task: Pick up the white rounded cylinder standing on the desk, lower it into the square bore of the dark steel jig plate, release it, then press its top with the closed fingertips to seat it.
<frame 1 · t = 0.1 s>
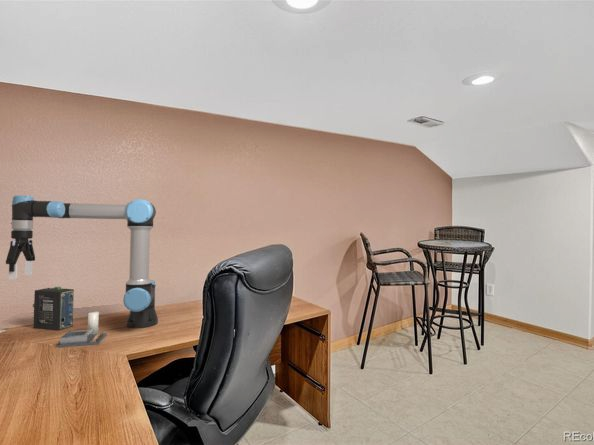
hand: (20, 277, 152), 28 cm above the table, fingers open, 13 cm apart
white rounded cylinder: (92, 333, 161), on the table
jig: (82, 341, 150), on the table
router: (53, 327, 170), on the table
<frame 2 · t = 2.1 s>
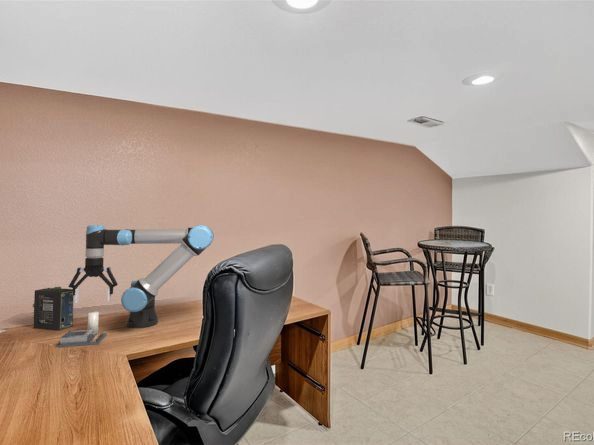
hand: (93, 301, 161), 15 cm above the table, fingers open, 13 cm apart
nothing on the table moved.
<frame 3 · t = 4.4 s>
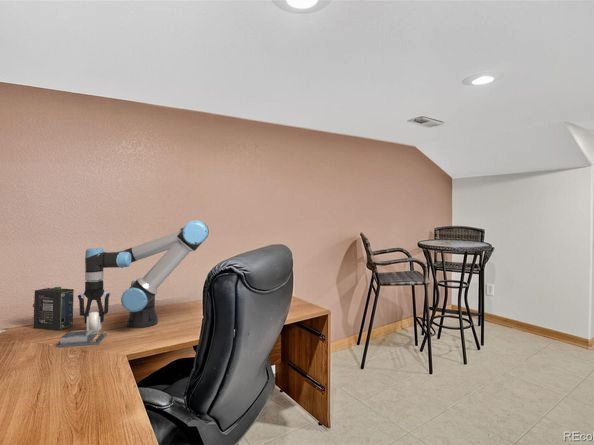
hand: (94, 329, 161), 2 cm above the table, fingers closed on white rounded cylinder, 4 cm apart
white rounded cylinder: (94, 333, 161), on the table, touching gripper
everything else where it was.
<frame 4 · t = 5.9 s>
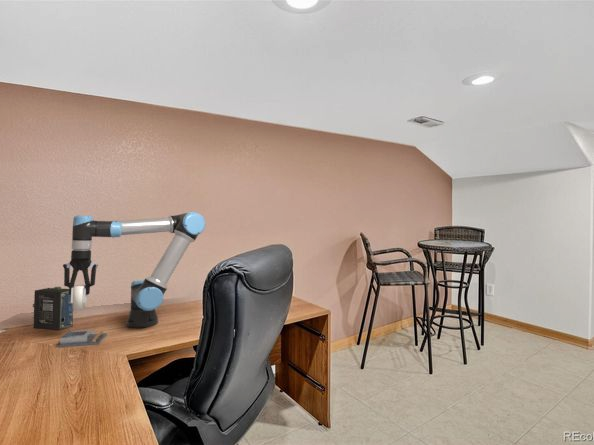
hand: (78, 301, 151), 17 cm above the table, fingers closed on white rounded cylinder, 4 cm apart
white rounded cylinder: (78, 308, 151), point 14 cm above the table, touching gripper
everything else where it was.
when the fingers open (4 cm above the table, at t = 7.9 s): white rounded cylinder drops 1 cm, resting on jig.
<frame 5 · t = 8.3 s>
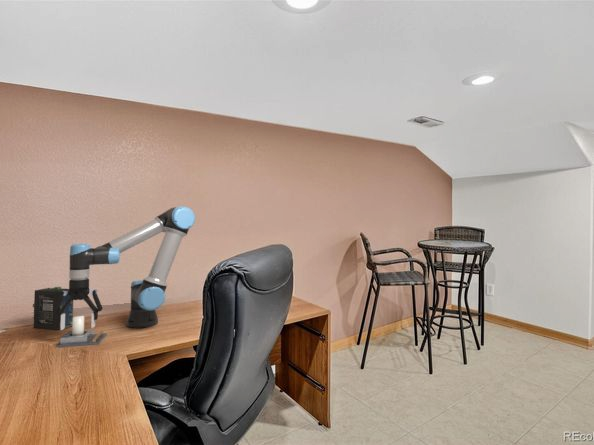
hand: (78, 328, 150), 6 cm above the table, fingers open, 11 cm apart
white rounded cylinder: (77, 339, 150), point 1 cm above the table, touching jig
everything else where it was.
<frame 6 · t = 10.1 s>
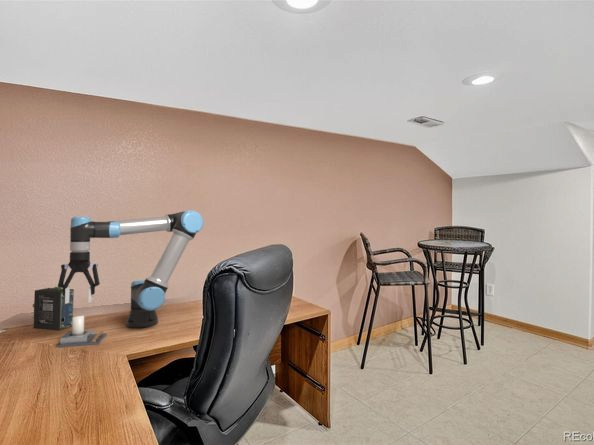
hand: (78, 302, 150), 17 cm above the table, fingers open, 8 cm apart
nothing on the table moved.
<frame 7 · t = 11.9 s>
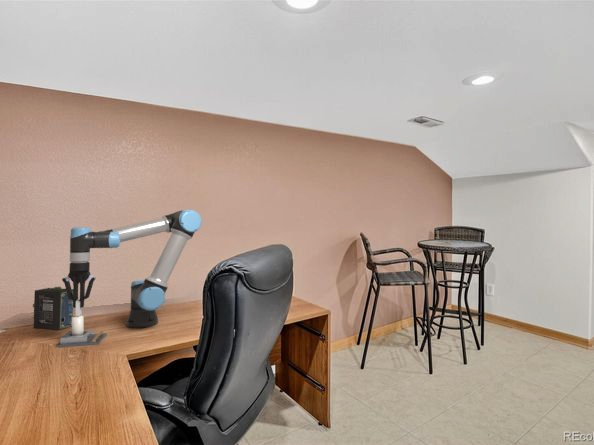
hand: (78, 315, 150), 12 cm above the table, fingers closed
nothing on the table moved.
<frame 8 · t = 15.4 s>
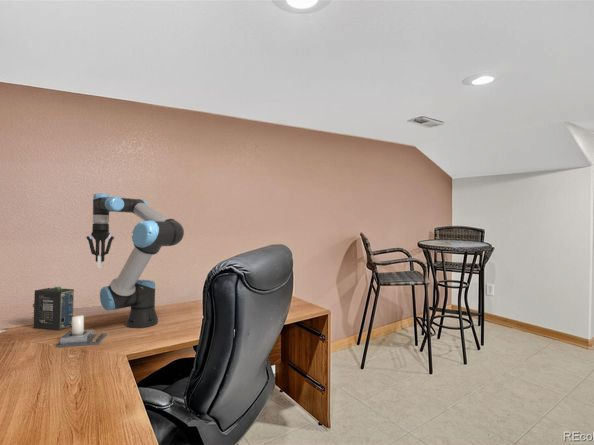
hand: (99, 267, 177), 29 cm above the table, fingers closed
nothing on the table moved.
at the end: white rounded cylinder 0.1 cm from the target spot on the jig, point 1.1 cm above the jig's base; white rounded cylinder tilted 2°; the gripper is holding nothing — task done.
